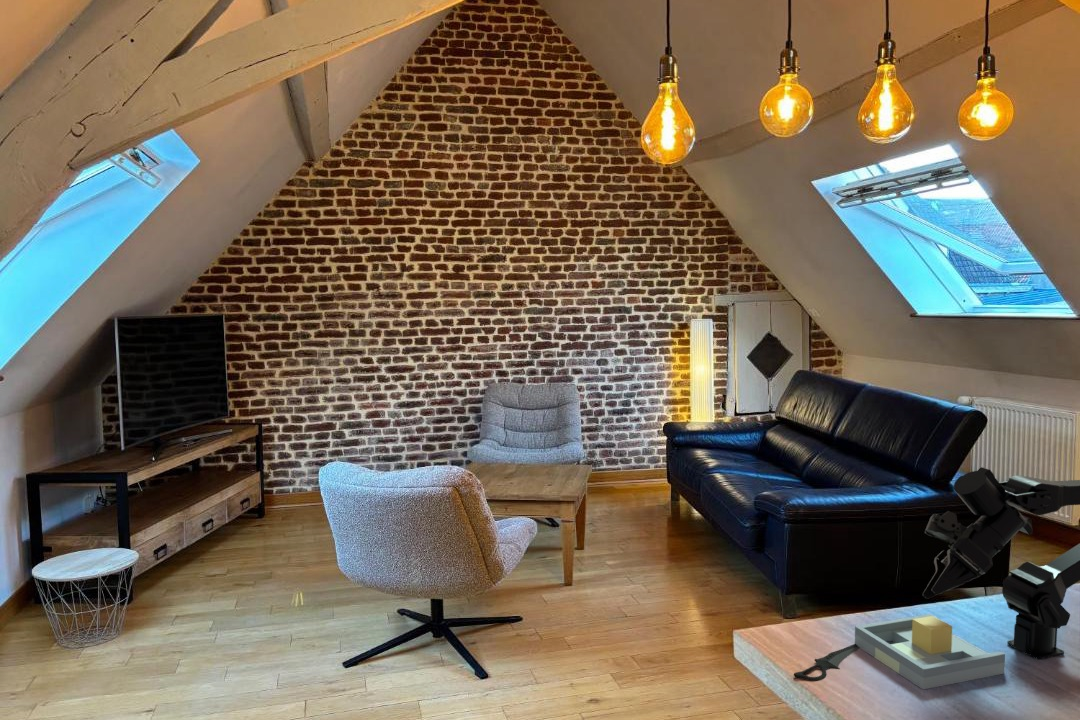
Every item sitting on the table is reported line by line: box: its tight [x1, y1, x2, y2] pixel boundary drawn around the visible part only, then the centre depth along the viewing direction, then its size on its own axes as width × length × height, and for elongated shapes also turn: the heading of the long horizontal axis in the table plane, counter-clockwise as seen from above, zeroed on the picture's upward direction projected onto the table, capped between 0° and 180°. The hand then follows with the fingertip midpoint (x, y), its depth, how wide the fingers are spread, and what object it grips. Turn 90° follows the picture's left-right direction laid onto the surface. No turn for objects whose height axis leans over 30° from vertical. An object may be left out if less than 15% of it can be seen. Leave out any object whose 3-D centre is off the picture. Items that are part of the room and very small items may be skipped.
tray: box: [854, 613, 1006, 690], centre depth 140 cm, size 17×17×4 cm
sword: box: [793, 643, 861, 682], centre depth 141 cm, size 27×4×1 cm, turn 128°
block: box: [912, 615, 953, 654], centre depth 140 cm, size 4×4×4 cm
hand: (929, 594), depth 138 cm, fingers open, 9 cm apart
